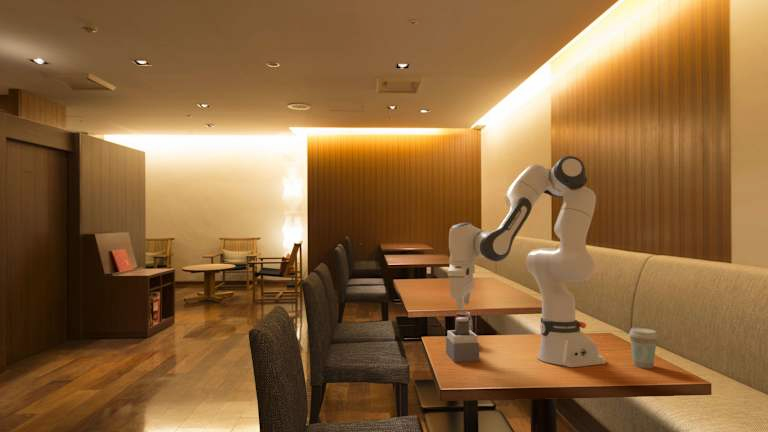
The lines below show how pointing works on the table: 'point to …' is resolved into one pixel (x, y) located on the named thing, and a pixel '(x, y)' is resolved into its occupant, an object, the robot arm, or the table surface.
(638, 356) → the coffee cup
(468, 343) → the camera body
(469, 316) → the soda can
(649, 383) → the table surface
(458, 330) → the lens
